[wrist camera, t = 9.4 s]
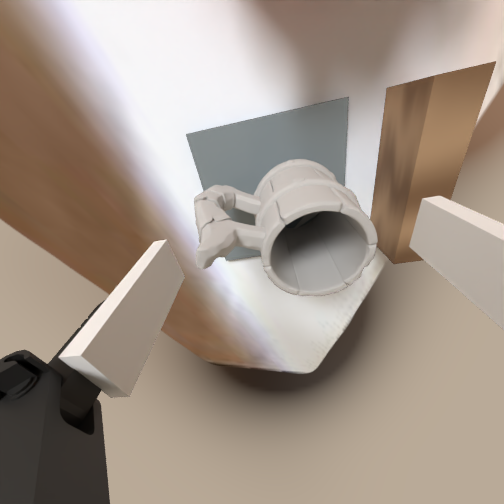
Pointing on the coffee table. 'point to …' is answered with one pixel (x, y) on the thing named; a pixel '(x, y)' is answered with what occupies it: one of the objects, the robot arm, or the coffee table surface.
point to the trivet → (270, 151)
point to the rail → (422, 150)
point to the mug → (291, 239)
